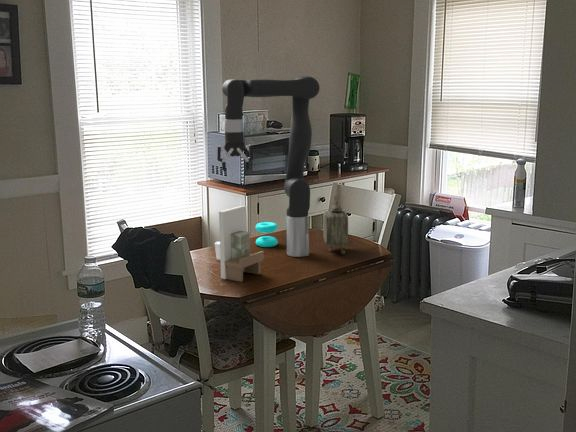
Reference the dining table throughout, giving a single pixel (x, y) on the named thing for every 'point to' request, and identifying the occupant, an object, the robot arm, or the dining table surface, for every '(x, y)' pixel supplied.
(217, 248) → the shot glass
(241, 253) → the sage cabinet
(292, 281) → the dining table surface
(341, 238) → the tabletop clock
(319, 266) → the dining table surface
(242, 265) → the white display stand
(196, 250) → the dining table surface
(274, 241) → the donuts
